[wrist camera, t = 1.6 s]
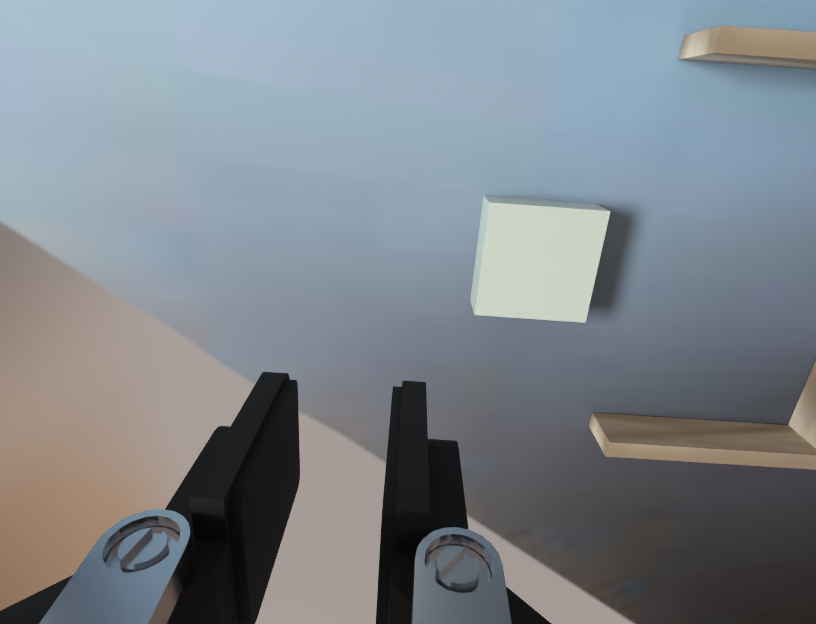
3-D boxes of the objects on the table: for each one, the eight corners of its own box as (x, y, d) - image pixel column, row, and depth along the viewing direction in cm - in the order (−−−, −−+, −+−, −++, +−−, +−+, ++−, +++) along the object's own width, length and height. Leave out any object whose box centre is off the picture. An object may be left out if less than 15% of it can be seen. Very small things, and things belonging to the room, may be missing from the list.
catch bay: (684, 35, 23) (720, 25, 20) (968, 55, 23) (1043, 48, 20) (589, 425, 31) (605, 456, 29) (797, 439, 32) (834, 470, 29)
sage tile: (482, 194, 26) (489, 202, 24) (593, 202, 27) (610, 211, 24) (469, 298, 29) (474, 314, 26) (571, 305, 29) (585, 322, 26)
